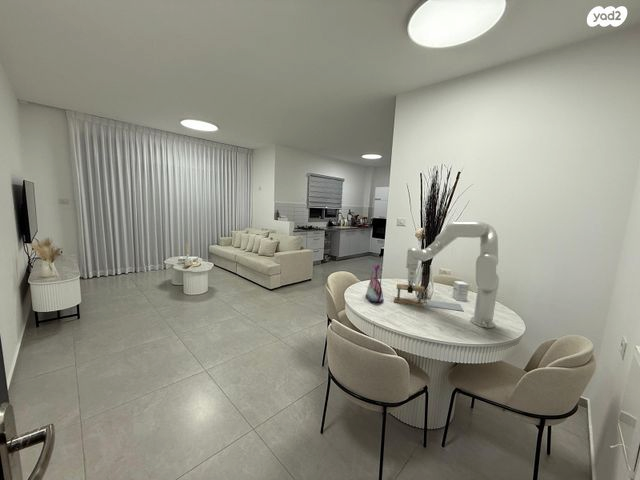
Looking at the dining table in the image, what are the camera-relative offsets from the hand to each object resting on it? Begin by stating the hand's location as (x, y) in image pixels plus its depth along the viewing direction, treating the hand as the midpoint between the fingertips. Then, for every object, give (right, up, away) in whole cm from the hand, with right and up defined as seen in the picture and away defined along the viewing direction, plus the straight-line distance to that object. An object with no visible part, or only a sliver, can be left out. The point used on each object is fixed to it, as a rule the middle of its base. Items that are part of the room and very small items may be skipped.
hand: (409, 291), depth 184 cm
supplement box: (+40, -8, +12) cm, 43 cm away
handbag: (-24, -6, +4) cm, 25 cm away
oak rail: (0, +1, 0) cm, 1 cm away
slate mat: (+22, -9, -2) cm, 24 cm away
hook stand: (-1, -8, +1) cm, 8 cm away
